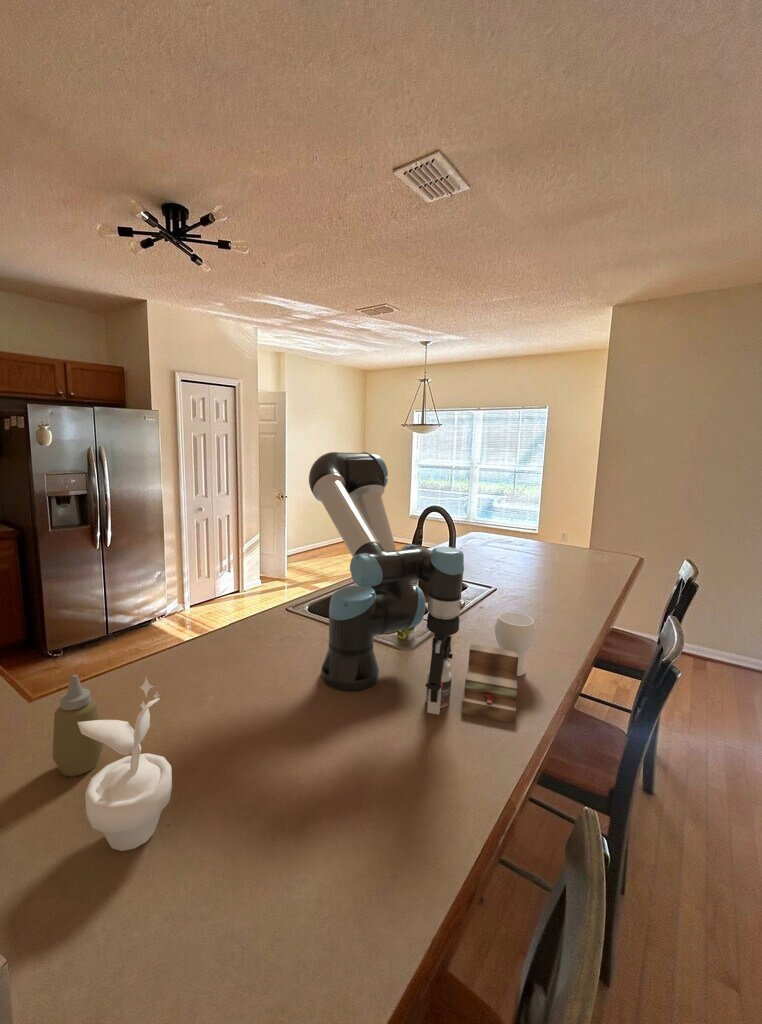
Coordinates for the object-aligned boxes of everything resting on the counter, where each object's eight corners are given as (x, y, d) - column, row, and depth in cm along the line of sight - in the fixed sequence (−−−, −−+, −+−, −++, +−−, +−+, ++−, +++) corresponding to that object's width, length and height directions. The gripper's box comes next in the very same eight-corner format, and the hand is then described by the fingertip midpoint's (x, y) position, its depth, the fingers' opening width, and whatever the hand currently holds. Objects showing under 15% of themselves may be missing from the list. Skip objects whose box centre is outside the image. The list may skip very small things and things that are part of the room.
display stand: (461, 712, 108) (464, 672, 106) (468, 678, 123) (470, 643, 121) (514, 723, 105) (518, 682, 103) (514, 687, 120) (518, 651, 118)
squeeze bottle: (95, 745, 91) (90, 660, 89) (112, 765, 86) (107, 676, 84) (47, 766, 85) (39, 676, 82) (62, 789, 80) (54, 693, 77)
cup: (533, 681, 123) (538, 628, 120) (492, 676, 125) (496, 623, 123) (528, 663, 133) (533, 613, 131) (491, 658, 135) (495, 609, 133)
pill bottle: (430, 710, 108) (433, 670, 107) (422, 696, 114) (424, 659, 112) (453, 707, 110) (456, 668, 108) (444, 694, 115) (446, 657, 114)
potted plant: (185, 805, 78) (180, 667, 74) (153, 869, 67) (146, 710, 62) (108, 804, 78) (100, 665, 73) (64, 868, 66) (51, 708, 62)
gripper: (453, 637, 95) (446, 730, 99) (465, 598, 119) (459, 674, 122) (417, 631, 97) (412, 723, 101) (436, 594, 121) (431, 669, 124)
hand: (438, 697), depth 112 cm, fingers open, 13 cm apart
